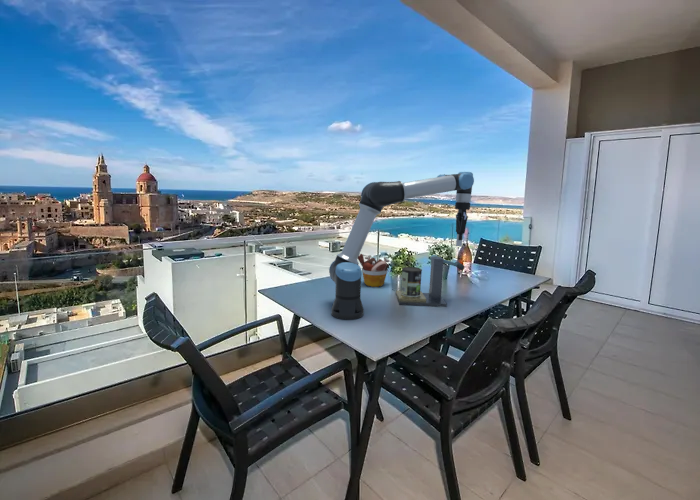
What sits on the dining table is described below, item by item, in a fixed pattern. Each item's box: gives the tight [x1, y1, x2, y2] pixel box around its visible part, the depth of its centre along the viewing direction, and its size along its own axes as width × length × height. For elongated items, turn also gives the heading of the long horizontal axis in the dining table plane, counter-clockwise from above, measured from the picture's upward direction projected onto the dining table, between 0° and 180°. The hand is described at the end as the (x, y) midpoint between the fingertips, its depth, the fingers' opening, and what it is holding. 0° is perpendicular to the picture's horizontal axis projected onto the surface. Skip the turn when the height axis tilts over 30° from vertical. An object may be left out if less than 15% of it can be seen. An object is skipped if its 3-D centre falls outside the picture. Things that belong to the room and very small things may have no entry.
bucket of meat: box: [357, 253, 390, 288], centre depth 199 cm, size 20×16×20 cm
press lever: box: [430, 254, 465, 271], centre depth 175 cm, size 18×8×4 cm, turn 89°
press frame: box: [395, 256, 448, 308], centre depth 171 cm, size 24×18×24 cm
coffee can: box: [400, 266, 423, 297], centre depth 171 cm, size 10×10×14 cm
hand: (458, 245), depth 173 cm, fingers closed
